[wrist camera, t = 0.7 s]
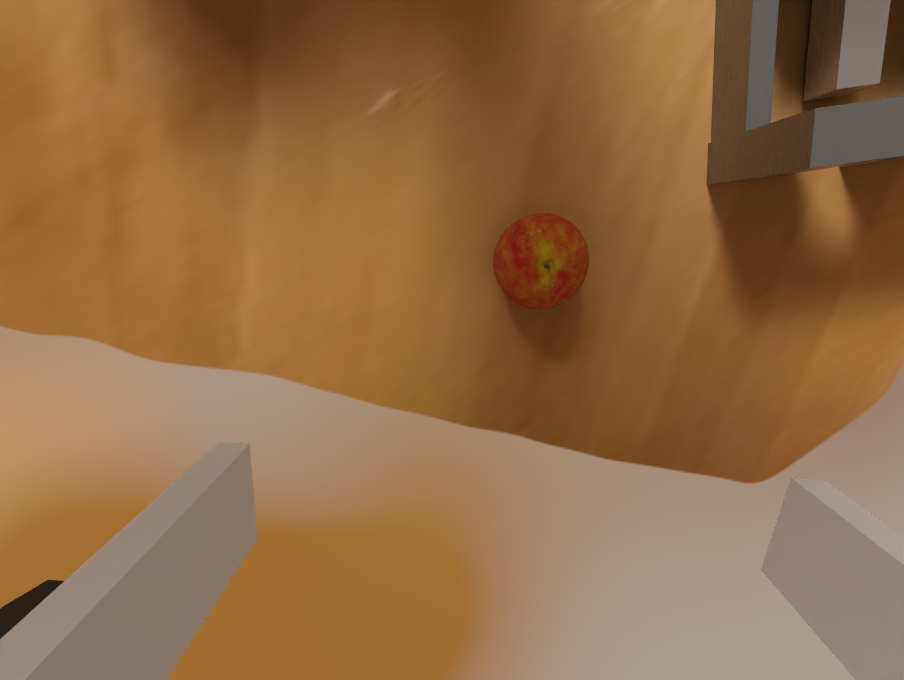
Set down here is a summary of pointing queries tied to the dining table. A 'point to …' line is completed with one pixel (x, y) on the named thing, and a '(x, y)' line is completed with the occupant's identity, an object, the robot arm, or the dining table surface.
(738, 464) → the dining table surface
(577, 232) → the fruit
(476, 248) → the dining table surface
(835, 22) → the grey rectangular block
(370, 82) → the dining table surface
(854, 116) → the gauge base
